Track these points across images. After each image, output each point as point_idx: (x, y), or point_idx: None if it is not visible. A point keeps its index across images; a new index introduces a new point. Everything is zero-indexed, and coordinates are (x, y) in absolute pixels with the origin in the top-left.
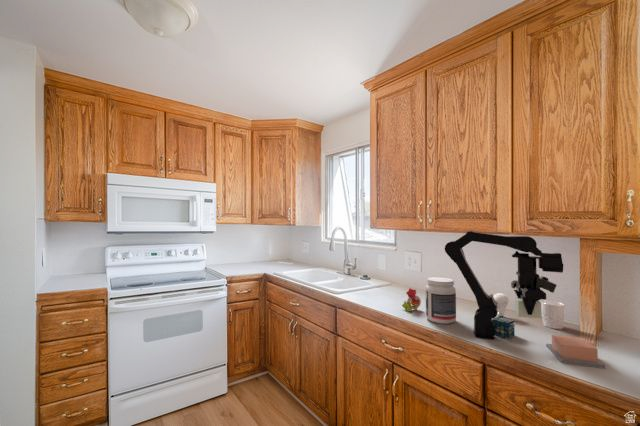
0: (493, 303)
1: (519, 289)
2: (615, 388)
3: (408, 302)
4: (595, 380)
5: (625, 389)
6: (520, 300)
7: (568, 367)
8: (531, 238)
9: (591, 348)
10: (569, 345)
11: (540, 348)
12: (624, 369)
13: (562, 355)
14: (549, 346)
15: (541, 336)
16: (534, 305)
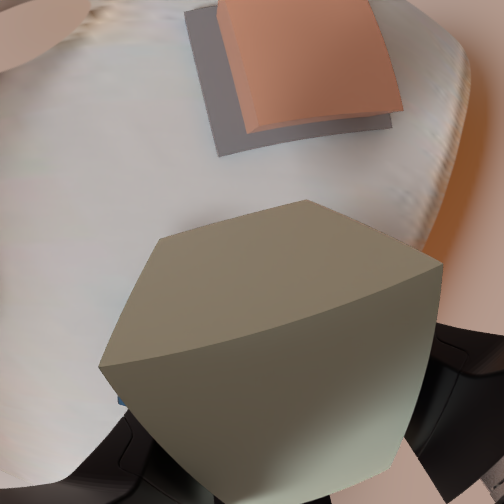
0: (328, 496)
1: None
2: (455, 60)
3: None
4: (445, 82)
5: (447, 41)
6: (360, 474)
7: (409, 120)
8: None
9: (368, 6)
10: (396, 82)
11: (266, 184)
12: None
13: (368, 116)
14: (259, 145)
15: (69, 181)
16: (449, 329)
